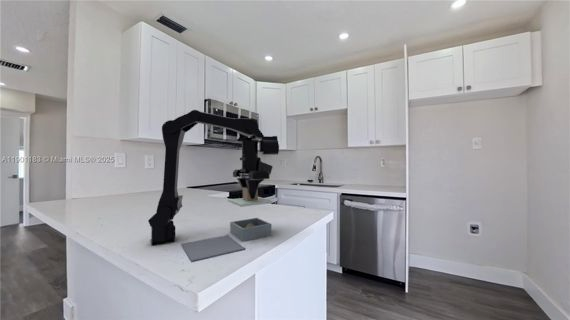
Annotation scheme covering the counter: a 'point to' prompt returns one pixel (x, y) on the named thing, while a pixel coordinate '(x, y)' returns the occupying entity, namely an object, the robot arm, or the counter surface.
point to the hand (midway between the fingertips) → (250, 198)
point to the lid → (249, 199)
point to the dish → (250, 229)
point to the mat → (211, 247)
